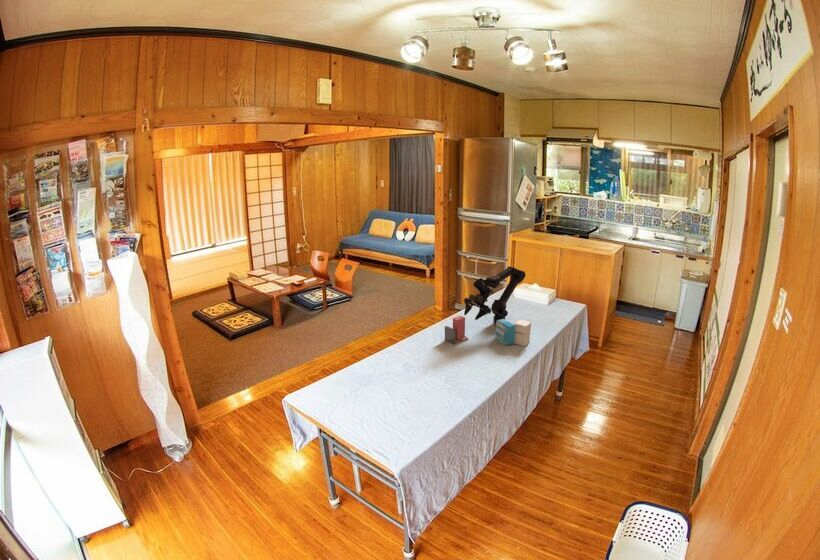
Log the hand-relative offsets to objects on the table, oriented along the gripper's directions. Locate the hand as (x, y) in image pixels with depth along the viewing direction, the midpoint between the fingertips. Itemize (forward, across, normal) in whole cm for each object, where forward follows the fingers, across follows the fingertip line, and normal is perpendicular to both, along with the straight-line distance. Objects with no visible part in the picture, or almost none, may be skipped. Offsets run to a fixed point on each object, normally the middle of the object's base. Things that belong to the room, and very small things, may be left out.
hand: (469, 317), depth 253 cm
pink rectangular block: (+14, 0, +1) cm, 14 cm away
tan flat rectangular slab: (+14, 0, +2) cm, 15 cm away
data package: (+1, +19, +15) cm, 24 cm away
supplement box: (-3, +26, +20) cm, 33 cm away
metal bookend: (+19, 0, -3) cm, 19 cm away
